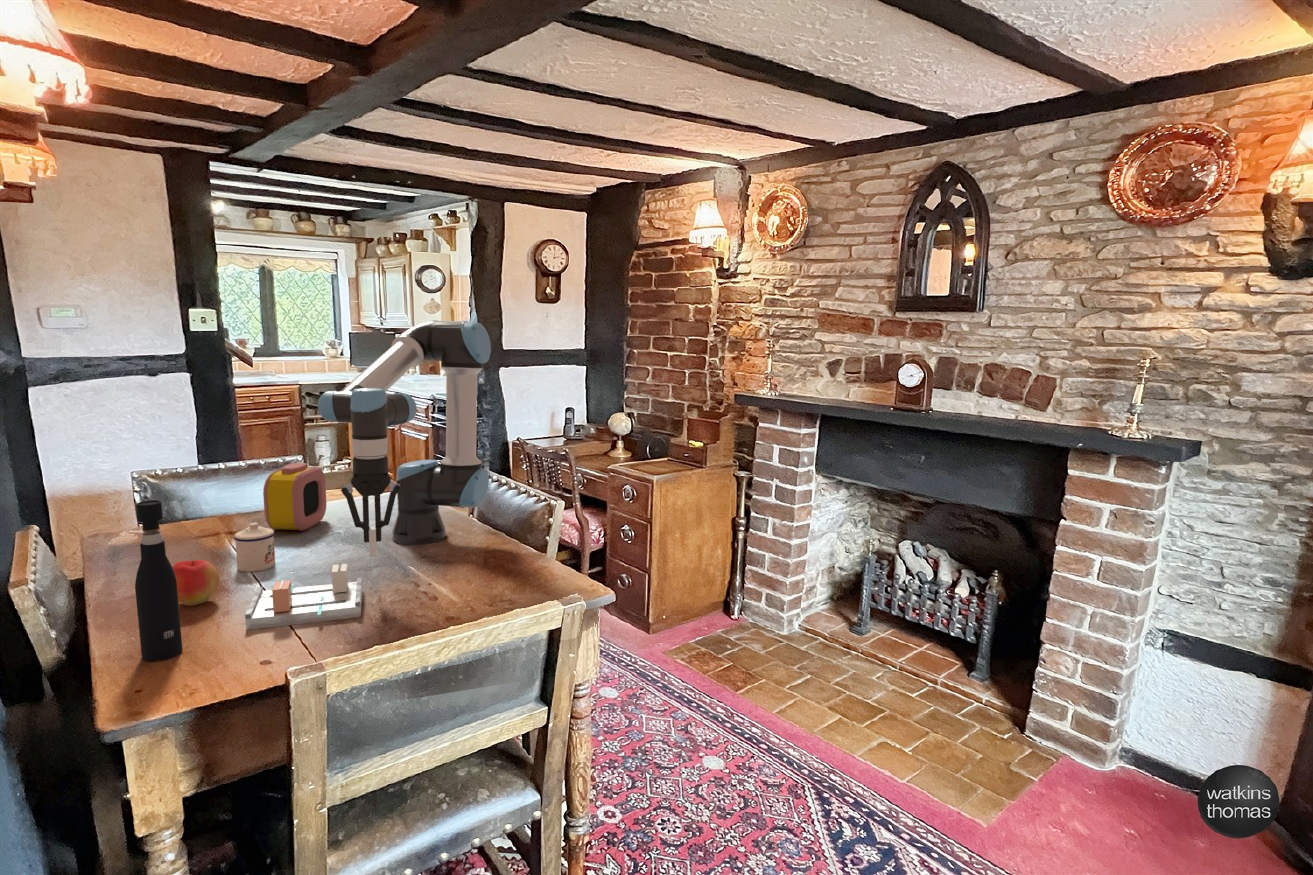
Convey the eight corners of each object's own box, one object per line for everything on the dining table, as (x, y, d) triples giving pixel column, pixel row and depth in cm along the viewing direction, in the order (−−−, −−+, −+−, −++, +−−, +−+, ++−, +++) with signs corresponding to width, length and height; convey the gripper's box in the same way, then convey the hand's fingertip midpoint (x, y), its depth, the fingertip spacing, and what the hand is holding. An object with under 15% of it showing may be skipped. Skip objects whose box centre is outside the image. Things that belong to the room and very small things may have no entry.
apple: (182, 615, 152) (178, 571, 150) (161, 605, 157) (157, 562, 155) (228, 601, 160) (225, 559, 158) (207, 592, 165) (204, 551, 163)
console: (362, 587, 170) (361, 574, 170) (360, 620, 151) (359, 605, 151) (259, 597, 162) (259, 583, 162) (244, 634, 143) (243, 618, 143)
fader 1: (292, 602, 154) (290, 579, 153) (289, 610, 149) (288, 587, 149) (276, 603, 153) (275, 580, 152) (273, 612, 148) (272, 589, 147)
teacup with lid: (273, 570, 180) (271, 526, 178) (233, 574, 176) (230, 529, 174) (279, 555, 191) (277, 514, 189) (241, 559, 187) (238, 517, 185)
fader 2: (347, 583, 165) (347, 562, 164) (347, 591, 161) (346, 569, 160) (334, 585, 164) (333, 564, 163) (332, 592, 160) (331, 571, 159)
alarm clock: (299, 535, 209) (296, 472, 206) (263, 534, 209) (258, 471, 206) (329, 518, 227) (326, 460, 224) (295, 517, 227) (292, 459, 224)
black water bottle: (155, 646, 137) (141, 498, 132) (189, 646, 138) (177, 498, 133) (134, 662, 131) (118, 507, 126) (170, 661, 131) (156, 507, 127)
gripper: (400, 452, 166) (402, 548, 169) (340, 454, 161) (343, 552, 165) (400, 457, 159) (403, 557, 163) (338, 459, 154) (341, 562, 158)
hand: (373, 554), depth 164 cm, fingers closed
